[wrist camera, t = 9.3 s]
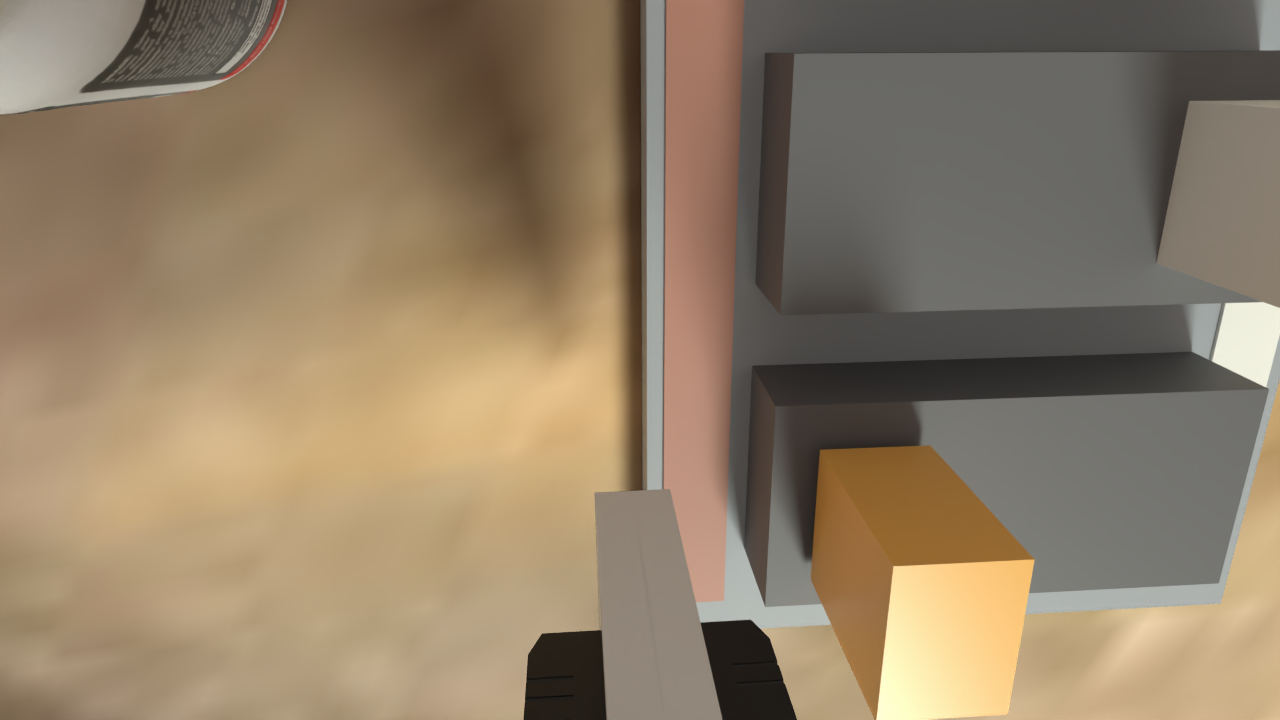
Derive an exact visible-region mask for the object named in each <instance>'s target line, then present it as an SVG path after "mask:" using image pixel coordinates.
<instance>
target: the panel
mask: <svg viewBox="0 0 1280 720" xmlns="http://www.w3.org/2000/svg"><path fill="white" fill-rule="evenodd" d="M641 236H642V490H661V489H670V491H671V495H672V500H673V504H674V509H675V513H676V517H677V522H678V526H679V531H680V535H681V539H682V544H683V548H684V553H685V557H686V561H687V566H688V570H689V575H690V579H691V583H692V588H693V592H694V597H695V601H696V605H697V610H698V614H699V619H700V622H717V621H735V620H752V621H753V622H754V623H755V624H756V625H757V626H758V627H759V628H778V627H796V626H815V625H831V623H830V621H829V618H828V616H827V614H826V612H825V610H824V608H823V605H822V603H821V601H820V599H819V597H818V594H817V592H816V590H815V588H814V586H813V584H812V581H811V565H812V552H813V538H814V524H815V510H816V497H817V483H818V469H819V456H820V450H825V449H851V448H877V447H902V446H928V445H930V446H931V447H932V448H933V449H934V450H935V451H936V452H937V453H938V454H939V455H940V457H941V458H942V459H943V460H944V461H945V462H946V463H947V464H948V465H949V466H950V467H951V469H952V470H953V471H954V472H955V473H956V474H957V475H958V476H959V477H960V478H961V480H962V481H963V482H964V483H965V484H966V485H967V486H968V487H969V488H970V489H971V490H972V492H973V493H974V494H975V495H976V496H977V497H978V498H979V499H980V500H981V501H982V502H983V504H984V505H985V506H986V507H987V508H988V509H989V510H990V511H991V512H992V513H993V514H994V516H995V517H996V518H997V519H998V520H999V521H1000V522H1001V523H1002V524H1003V525H1004V527H1005V528H1006V529H1007V530H1008V531H1009V532H1010V533H1011V534H1012V535H1013V536H1014V537H1015V539H1016V540H1017V541H1018V542H1019V543H1020V544H1021V545H1022V546H1023V547H1024V548H1025V549H1026V551H1027V552H1028V553H1029V554H1030V555H1031V556H1032V557H1033V558H1034V559H1035V561H1034V566H1033V572H1032V578H1031V584H1030V589H1029V595H1028V601H1027V607H1026V612H1025V614H1037V613H1056V612H1074V611H1093V610H1112V609H1130V608H1149V607H1167V606H1186V605H1204V604H1221V600H1222V596H1223V593H1224V589H1225V585H1226V581H1227V577H1228V574H1229V570H1230V566H1231V562H1232V558H1233V555H1234V551H1235V547H1236V543H1237V539H1238V536H1239V532H1240V528H1241V524H1242V520H1243V517H1244V513H1245V509H1246V505H1247V501H1248V498H1249V494H1250V490H1251V486H1252V482H1253V479H1254V475H1255V471H1256V467H1257V464H1258V460H1259V456H1260V452H1261V448H1262V445H1263V441H1264V437H1265V433H1266V429H1267V426H1268V422H1269V418H1270V414H1271V410H1272V407H1273V403H1274V399H1275V395H1276V391H1277V388H1278V384H1279V380H1280V0H641Z"/></svg>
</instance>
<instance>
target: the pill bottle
mask: <svg viewBox="0 0 1280 720" xmlns="http://www.w3.org/2000/svg"><path fill="white" fill-rule="evenodd" d="M286 4H287V0H0V115H8V114H21V113H27V112H34V111H44V110H51V109H58V108H64V107H72V106H82V105H90V104H98V103H106V102H115V101H123V100H132V99H141V98H151V97H160V96H168V95H175V94H184V93H189V92H192V91H196V90H201V89H205V88H208V87H211V86H214V85H217V84H219V83H221V82H224V81H226V80H228V79H229V78H231V77H233V76H235V75H236V74H238V73H239V72H241V71H242V70H243V69H245V68H246V67H247V66H249V65H250V64H251V63H252V62H253V61H254V60H255V59H256V58H257V57H258V56H259V55H260V54H261V53H262V52H263V50H264V49H265V48H266V46H267V45H268V44H269V42H270V41H271V39H272V38H273V36H274V34H275V32H276V30H277V28H278V27H279V24H280V22H281V20H282V17H283V14H284V11H285V8H286Z"/></svg>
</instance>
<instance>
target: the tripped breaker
mask: <svg viewBox="0 0 1280 720" xmlns="http://www.w3.org/2000/svg"><path fill="white" fill-rule="evenodd" d="M1034 561H1035V559H1034V558H1033V557H1032V556H1031V555H1030V554H1029V553H1028V552H1027V551H1026V549H1025V548H1024V547H1023V546H1022V545H1021V544H1020V543H1019V542H1018V541H1017V540H1016V539H1015V537H1014V536H1013V535H1012V534H1011V533H1010V532H1009V531H1008V530H1007V529H1006V528H1005V527H1004V525H1003V524H1002V523H1001V522H1000V521H999V520H998V519H997V518H996V517H995V516H994V514H993V513H992V512H991V511H990V510H989V509H988V508H987V507H986V506H985V505H984V504H983V502H982V501H981V500H980V499H979V498H978V497H977V496H976V495H975V494H974V493H973V492H972V490H971V489H970V488H969V487H968V486H967V485H966V484H965V483H964V482H963V481H962V480H961V478H960V477H959V476H958V475H957V474H956V473H955V472H954V471H953V470H952V469H951V467H950V466H949V465H948V464H947V463H946V462H945V461H944V460H943V459H942V458H941V457H940V455H939V454H938V453H937V452H936V451H935V450H934V449H933V448H932V447H931V446H930V445H928V446H902V447H877V448H851V449H825V450H820V456H819V469H818V483H817V497H816V510H815V524H814V538H813V552H812V565H811V581H812V584H813V586H814V588H815V590H816V592H817V594H818V597H819V599H820V601H821V603H822V605H823V608H824V610H825V612H826V614H827V616H828V618H829V621H830V623H831V625H832V627H833V629H834V632H835V634H836V636H837V638H838V640H839V642H840V645H841V647H842V649H843V651H844V653H845V656H846V658H847V660H848V662H849V664H850V666H851V669H852V671H853V673H854V675H855V677H856V680H857V682H858V684H859V686H860V688H861V690H862V693H863V695H864V697H865V699H866V701H867V704H868V706H869V708H870V710H871V712H872V714H873V717H874V719H875V720H925V719H941V718H957V717H973V716H989V715H1005V714H1008V710H1009V704H1010V699H1011V693H1012V687H1013V681H1014V676H1015V670H1016V664H1017V658H1018V653H1019V647H1020V641H1021V635H1022V630H1023V624H1024V618H1025V612H1026V607H1027V601H1028V595H1029V589H1030V584H1031V578H1032V572H1033V566H1034Z"/></svg>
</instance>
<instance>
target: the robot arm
mask: <svg viewBox="0 0 1280 720" xmlns="http://www.w3.org/2000/svg"><path fill="white" fill-rule="evenodd" d="M595 519H596V549H597V579H598V609H599V629H600V630H597V631H580V632H563V633H546V634H542V635H541V636H540V638H539V639H538V641H537V642H536V644H535V645H534V647H533V648H532V650H531V651H530V653H529V654H528V664H527V683H526V694H525V708H524V720H797V718H796V715H795V712H794V709H793V706H792V704H791V701H790V698H789V695H788V692H787V689H786V686H785V684H784V683H783V677H782V674H781V671H780V668H779V665H777V659H776V656H775V653H774V650H773V647H772V644H771V641H770V638H769V637H768V636H767V635H766V634H765V633H764V632H763V631H762V630H761V629H760V628H759V627H758V626H757V625H756V624H755V623H754V622H753V621H752V620H735V621H717V622H700V619H699V614H698V610H697V605H696V601H695V597H694V592H693V588H692V583H691V579H690V575H689V570H688V566H687V561H686V557H685V553H684V548H683V544H682V539H681V535H680V531H679V526H678V522H677V517H676V513H675V509H674V504H673V500H672V495H671V491H670V489H661V490H640V491H619V492H597V493H595Z"/></svg>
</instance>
